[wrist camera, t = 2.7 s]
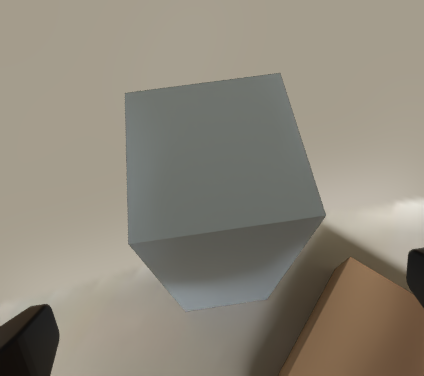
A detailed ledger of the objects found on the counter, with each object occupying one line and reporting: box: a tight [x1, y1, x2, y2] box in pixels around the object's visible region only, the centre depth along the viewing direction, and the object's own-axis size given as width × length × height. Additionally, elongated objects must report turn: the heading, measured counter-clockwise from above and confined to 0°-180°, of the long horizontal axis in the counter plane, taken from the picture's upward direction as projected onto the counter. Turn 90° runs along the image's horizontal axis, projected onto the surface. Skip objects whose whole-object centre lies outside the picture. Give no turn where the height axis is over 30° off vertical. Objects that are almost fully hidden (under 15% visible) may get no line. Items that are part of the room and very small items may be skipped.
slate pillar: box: [125, 73, 326, 312], centre depth 14 cm, size 4×4×12 cm
